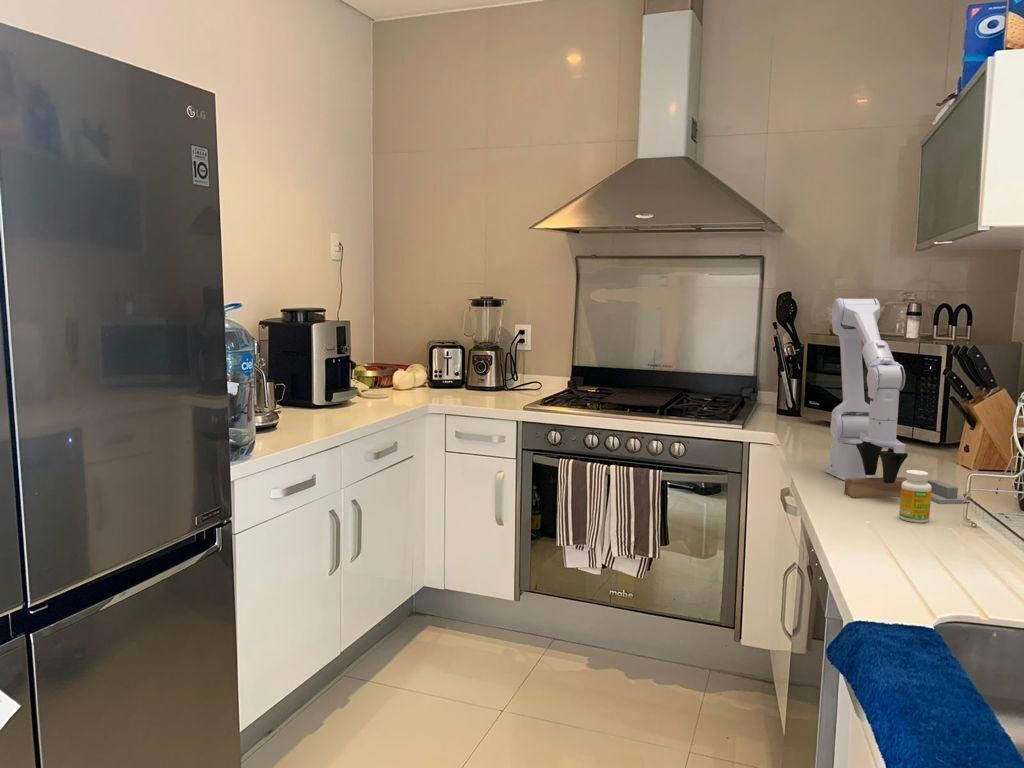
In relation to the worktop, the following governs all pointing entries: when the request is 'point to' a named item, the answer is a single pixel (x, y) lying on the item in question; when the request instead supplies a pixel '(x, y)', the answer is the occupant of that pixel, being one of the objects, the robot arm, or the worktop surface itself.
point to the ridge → (944, 493)
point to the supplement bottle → (915, 497)
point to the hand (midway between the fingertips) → (879, 478)
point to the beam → (873, 487)
